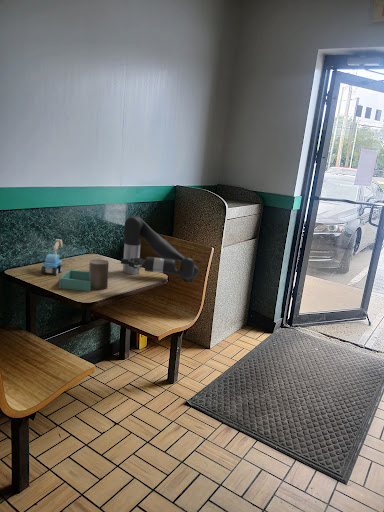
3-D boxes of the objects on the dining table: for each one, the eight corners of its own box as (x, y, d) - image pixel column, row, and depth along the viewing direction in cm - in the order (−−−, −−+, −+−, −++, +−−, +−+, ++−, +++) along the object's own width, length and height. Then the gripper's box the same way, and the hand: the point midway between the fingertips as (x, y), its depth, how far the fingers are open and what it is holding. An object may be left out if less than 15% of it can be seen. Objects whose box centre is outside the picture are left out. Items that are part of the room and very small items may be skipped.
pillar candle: (110, 288, 220) (112, 260, 216) (94, 291, 213) (95, 262, 210) (101, 283, 226) (102, 256, 223) (84, 285, 220) (86, 257, 217)
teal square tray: (98, 281, 228) (98, 272, 227) (89, 291, 212) (90, 282, 210) (69, 278, 228) (70, 269, 227) (58, 288, 212) (59, 278, 211)
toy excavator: (67, 268, 245) (68, 239, 241) (55, 276, 229) (56, 245, 225) (52, 266, 246) (53, 237, 241) (40, 274, 229) (40, 243, 225)
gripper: (152, 275, 210) (117, 271, 210) (155, 268, 223) (123, 264, 223) (153, 260, 208) (118, 257, 208) (156, 254, 221) (123, 251, 221)
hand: (121, 261), depth 215 cm, fingers closed
